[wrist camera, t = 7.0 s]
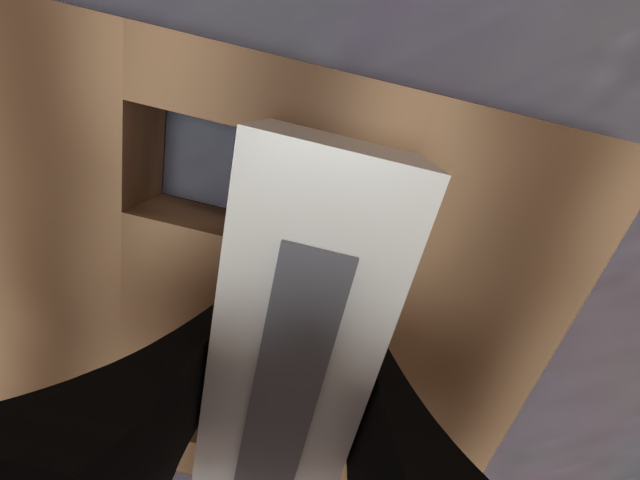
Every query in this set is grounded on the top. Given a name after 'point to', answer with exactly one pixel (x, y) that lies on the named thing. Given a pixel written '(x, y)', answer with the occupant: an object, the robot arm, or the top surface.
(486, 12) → the top surface
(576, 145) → the keyhole board
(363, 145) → the white rectangular block
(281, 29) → the top surface
